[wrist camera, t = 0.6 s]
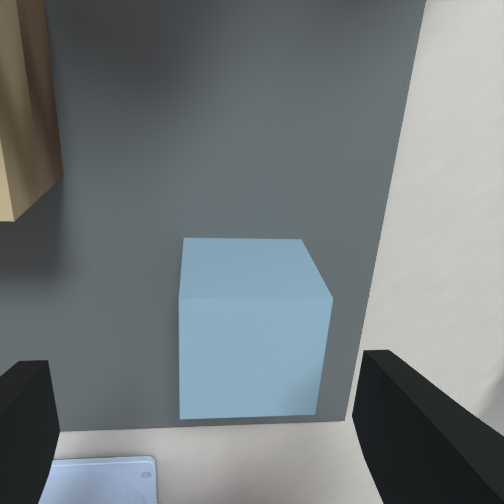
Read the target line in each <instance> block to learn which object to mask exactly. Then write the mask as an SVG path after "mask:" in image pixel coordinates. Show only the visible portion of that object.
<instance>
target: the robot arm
mask: <svg viewBox="0 0 504 504" xmlns="http://www.w3.org/2000/svg"><path fill="white" fill-rule="evenodd" d="M352 418H353V422H354V425H355V429H356V432H357V436H358V439H359V443H360V446H361V449H362V453H363V456H364V459H365V461H366V463H367V466H368V468H369V471H370V473H371V475H372V478H373V480H374V482H375V485H376V487H377V489H378V492H379V494H380V496H381V499H382V501H383V503H384V504H504V436H502V435H501V434H499V433H498V432H496V431H495V430H494V429H492V428H491V427H490V426H488V425H487V424H485V423H484V422H482V421H481V420H480V419H478V418H477V417H476V416H474V415H473V414H471V413H470V412H469V411H467V410H466V409H465V408H463V407H462V406H461V405H459V404H458V403H457V402H455V401H454V400H453V399H451V398H450V397H449V396H448V395H446V394H445V393H444V392H442V391H441V390H440V389H439V388H437V387H436V386H435V385H433V384H432V383H431V382H430V381H428V380H427V379H426V378H425V377H423V376H422V375H421V374H420V373H418V372H417V371H416V370H414V369H413V368H412V367H411V366H409V365H408V364H407V363H406V362H404V361H403V360H402V359H400V358H399V357H398V356H396V355H395V354H394V353H392V352H391V351H389V350H364V352H363V358H362V363H361V369H360V374H359V380H358V385H357V391H356V396H355V402H354V407H353V413H352ZM59 433H60V426H59V420H58V414H57V409H56V403H55V397H54V391H53V385H52V380H51V374H50V368H49V362H48V360H30V361H18V362H17V363H16V364H14V365H13V366H12V367H11V368H10V369H8V370H7V371H6V372H5V373H4V374H3V375H1V376H0V504H158V501H157V476H156V461H155V459H154V458H153V457H150V456H133V457H110V458H88V459H66V460H53V458H54V454H55V450H56V446H57V441H58V437H59Z"/></svg>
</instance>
